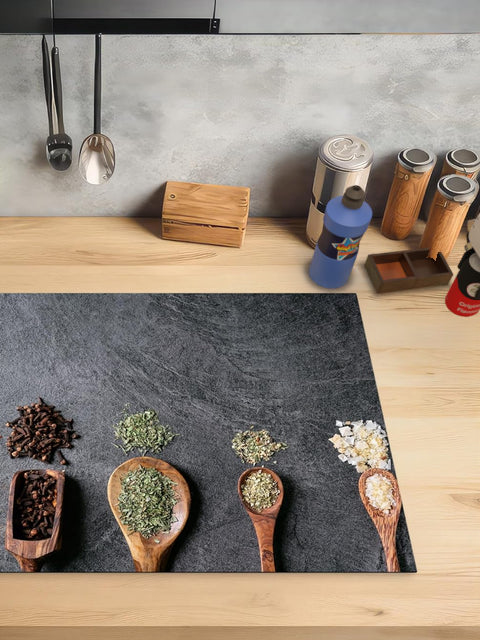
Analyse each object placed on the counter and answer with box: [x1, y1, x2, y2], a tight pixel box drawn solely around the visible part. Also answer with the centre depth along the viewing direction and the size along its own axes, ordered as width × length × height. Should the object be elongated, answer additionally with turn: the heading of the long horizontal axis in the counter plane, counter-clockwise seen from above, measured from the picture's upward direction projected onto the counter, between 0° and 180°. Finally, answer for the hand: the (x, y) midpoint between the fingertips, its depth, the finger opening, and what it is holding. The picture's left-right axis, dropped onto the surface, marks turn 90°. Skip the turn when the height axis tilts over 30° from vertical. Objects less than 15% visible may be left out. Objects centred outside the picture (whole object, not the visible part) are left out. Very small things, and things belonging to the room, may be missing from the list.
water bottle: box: [308, 184, 373, 290], centre depth 156 cm, size 9×9×25 cm
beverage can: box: [444, 253, 480, 318], centre depth 132 cm, size 6×6×12 cm
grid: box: [364, 247, 454, 294], centre depth 164 cm, size 16×9×4 cm, turn 98°
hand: (474, 281), depth 131 cm, fingers closed on beverage can, 6 cm apart
